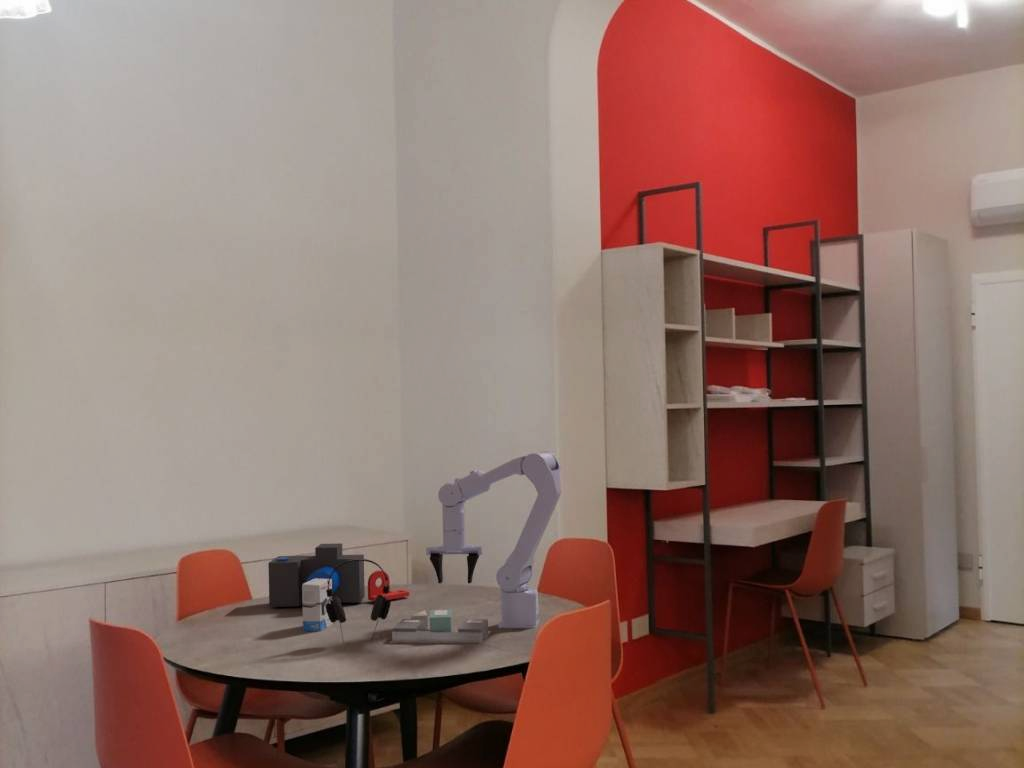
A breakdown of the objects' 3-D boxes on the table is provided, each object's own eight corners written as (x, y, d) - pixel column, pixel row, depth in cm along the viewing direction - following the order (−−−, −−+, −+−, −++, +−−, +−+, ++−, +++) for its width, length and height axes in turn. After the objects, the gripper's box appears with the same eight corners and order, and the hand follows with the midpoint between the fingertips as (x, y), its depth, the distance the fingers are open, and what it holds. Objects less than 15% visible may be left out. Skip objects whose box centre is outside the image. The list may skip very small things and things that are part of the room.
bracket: (376, 601, 268) (376, 574, 268) (368, 599, 271) (367, 572, 271) (411, 595, 276) (410, 568, 276) (402, 593, 279) (401, 566, 279)
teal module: (452, 632, 227) (451, 609, 227) (451, 640, 219) (450, 616, 219) (431, 632, 227) (430, 609, 227) (430, 641, 219) (429, 617, 219)
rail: (481, 642, 217) (481, 631, 217) (480, 643, 216) (480, 632, 216) (393, 641, 220) (393, 630, 220) (392, 642, 219) (391, 631, 219)
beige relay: (424, 626, 237) (424, 610, 237) (427, 631, 232) (427, 615, 232) (409, 627, 237) (408, 611, 237) (411, 632, 231) (411, 616, 231)
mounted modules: (488, 632, 227) (487, 619, 227) (481, 642, 217) (481, 628, 217) (403, 631, 229) (403, 618, 230) (393, 641, 220) (393, 627, 220)
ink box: (320, 632, 233) (319, 584, 233) (301, 631, 234) (301, 584, 234) (333, 624, 241) (332, 578, 242) (315, 623, 242) (314, 578, 242)
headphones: (390, 634, 229) (388, 552, 229) (392, 646, 217) (390, 560, 218) (327, 639, 226) (325, 555, 226) (325, 651, 215) (324, 563, 215)
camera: (263, 611, 259) (262, 553, 259) (279, 598, 275) (278, 544, 276) (353, 609, 258) (352, 551, 259) (364, 597, 275) (363, 542, 275)
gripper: (484, 527, 244) (485, 579, 244) (429, 527, 246) (431, 579, 246) (479, 531, 237) (481, 585, 237) (423, 531, 239) (424, 584, 239)
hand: (455, 582), depth 241 cm, fingers open, 7 cm apart
